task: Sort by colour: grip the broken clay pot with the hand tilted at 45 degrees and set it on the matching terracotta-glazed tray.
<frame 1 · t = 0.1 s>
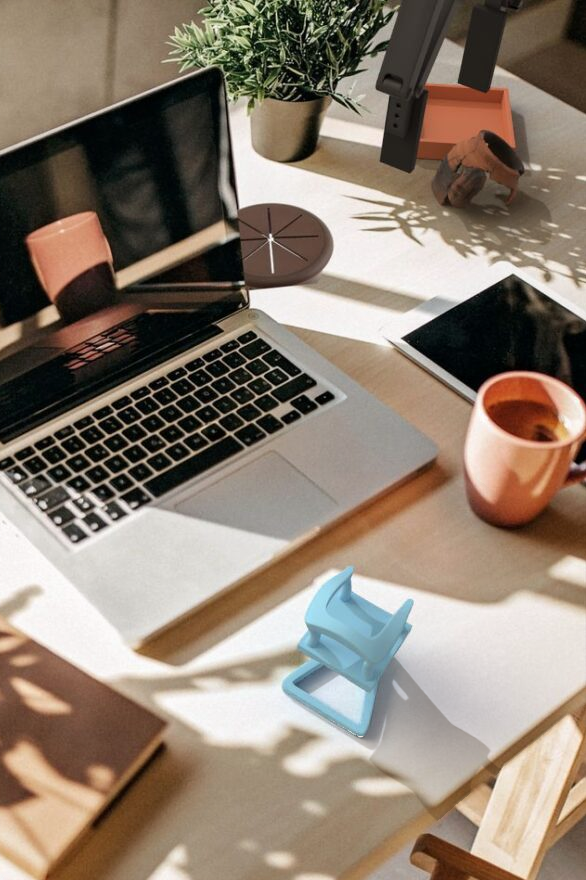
hand: (436, 124, 79), 27 cm above the table, tool pointing down, fingers open, 13 cm apart
chair: (345, 677, 80), on the table
broken clay pot: (468, 199, 118), on the table
terracotta tray: (456, 130, 126), on the table
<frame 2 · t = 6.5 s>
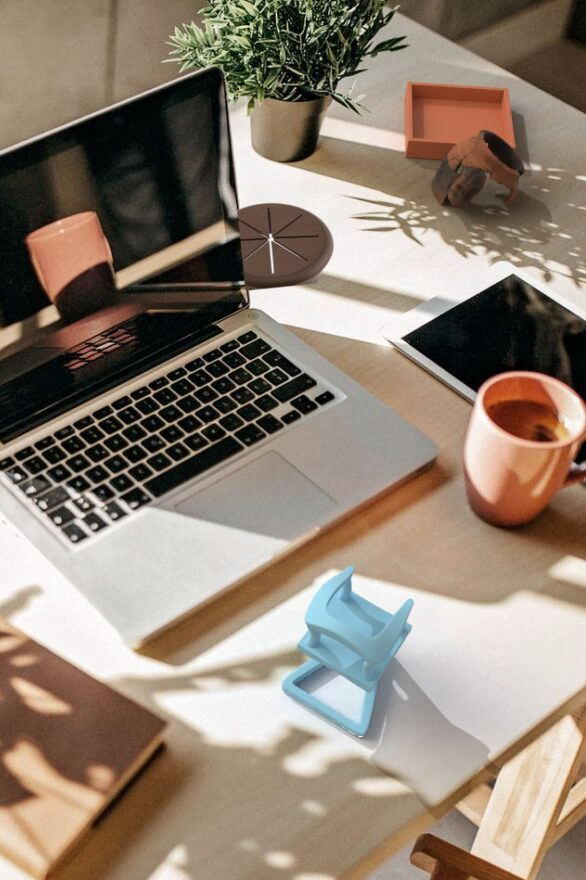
nothing on the table moved.
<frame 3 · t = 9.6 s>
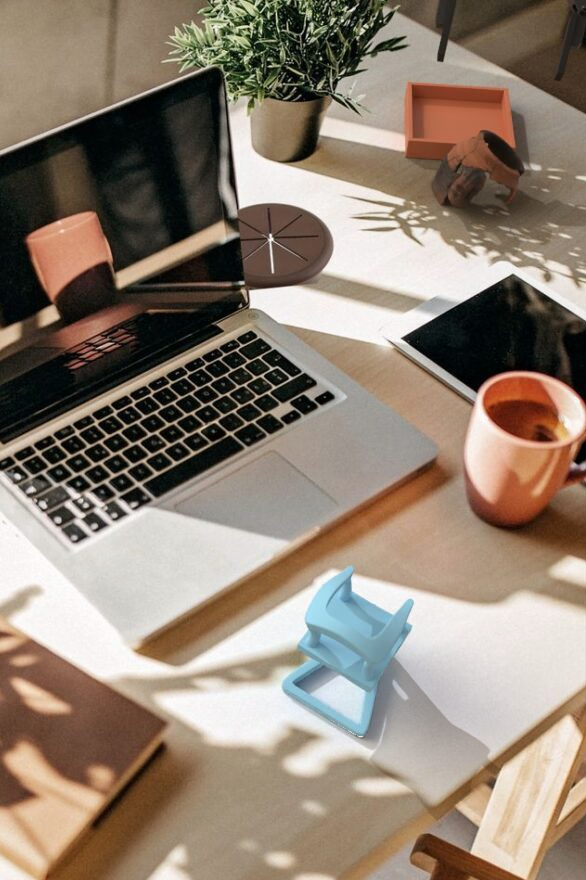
hand: (498, 68, 112), 12 cm above the table, tool tilted 45°, fingers open, 13 cm apart
nothing on the table moved.
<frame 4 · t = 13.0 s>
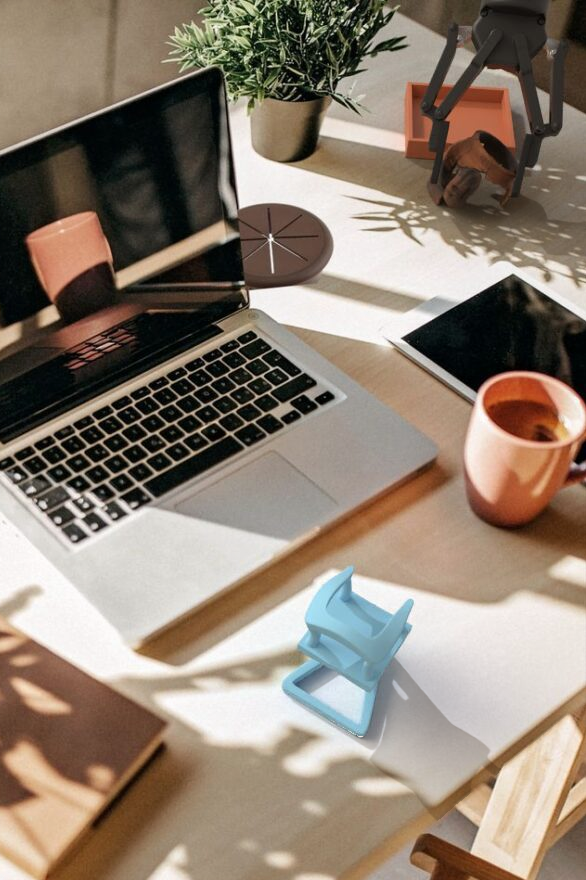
hand: (474, 188, 113), 4 cm above the table, tool tilted 45°, fingers closed on broken clay pot, 9 cm apart
broken clay pot: (464, 199, 118), on the table, touching gripper
everything else where it was.
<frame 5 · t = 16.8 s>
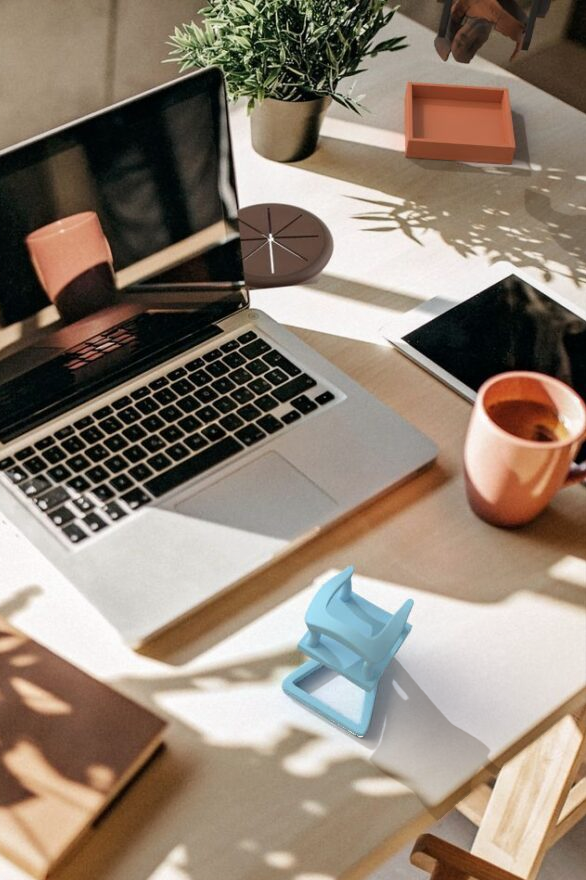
hand: (483, 39, 109), 16 cm above the table, tool tilted 45°, fingers closed on broken clay pot, 9 cm apart
broken clay pot: (472, 58, 114), point 12 cm above the table, touching gripper
everything else where it was.
when the fingers open (4 cm above the table, at t = 20.8 s): broken clay pot stays where it is, resting on terracotta tray.
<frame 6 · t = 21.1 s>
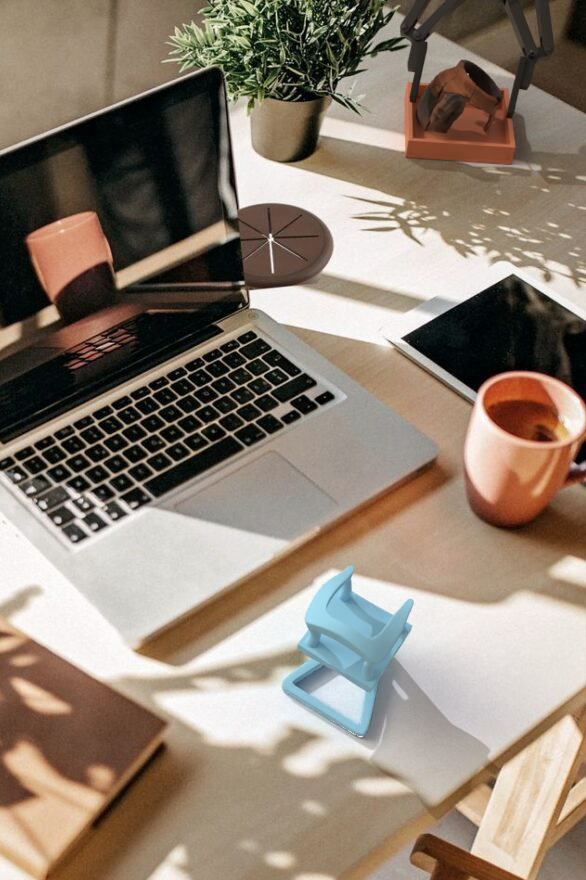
hand: (460, 107, 120), 5 cm above the table, tool tilted 45°, fingers open, 11 cm apart
broken clay pot: (450, 126, 126), resting on terracotta tray
everything else where it was.
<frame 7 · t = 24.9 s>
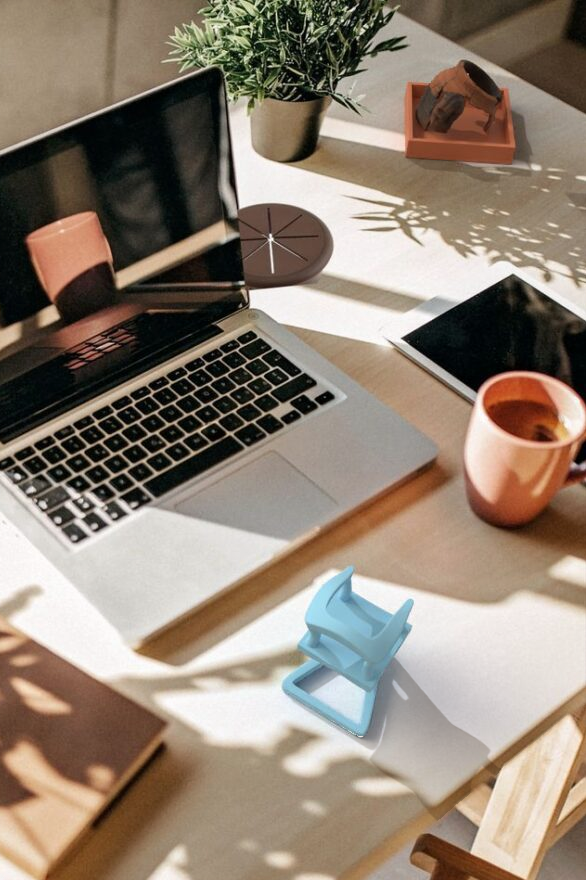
nothing on the table moved.
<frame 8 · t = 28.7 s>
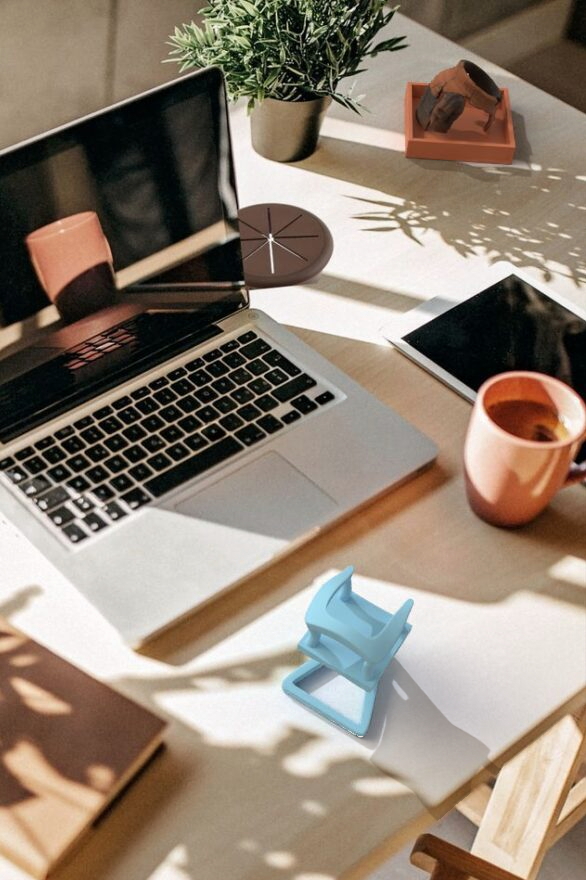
nothing on the table moved.
at the end: broken clay pot 0.8 cm off-centre in the terracotta tray, point 0.4 cm above the terracotta tray's base; broken clay pot tilted 0°; chair moved 0.2 cm from its start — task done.
